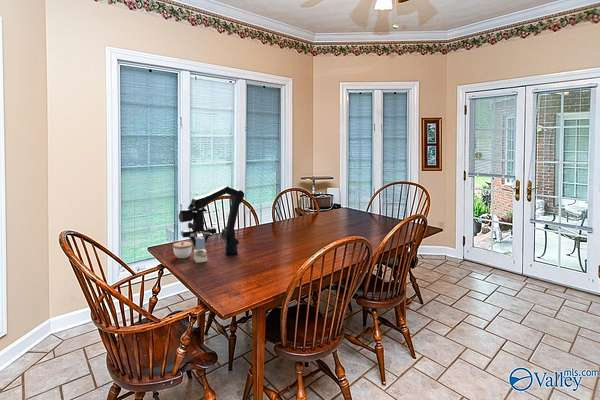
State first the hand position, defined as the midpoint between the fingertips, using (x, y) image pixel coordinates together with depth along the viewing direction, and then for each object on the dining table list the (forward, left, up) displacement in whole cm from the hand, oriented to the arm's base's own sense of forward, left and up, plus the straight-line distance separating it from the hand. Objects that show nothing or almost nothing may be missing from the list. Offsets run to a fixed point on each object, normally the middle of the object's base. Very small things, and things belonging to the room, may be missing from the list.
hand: (199, 246), depth 206 cm
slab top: (0, 0, -6) cm, 6 cm away
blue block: (0, 0, -1) cm, 1 cm away
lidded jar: (+7, -11, -8) cm, 16 cm away
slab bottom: (0, 0, -8) cm, 9 cm away
